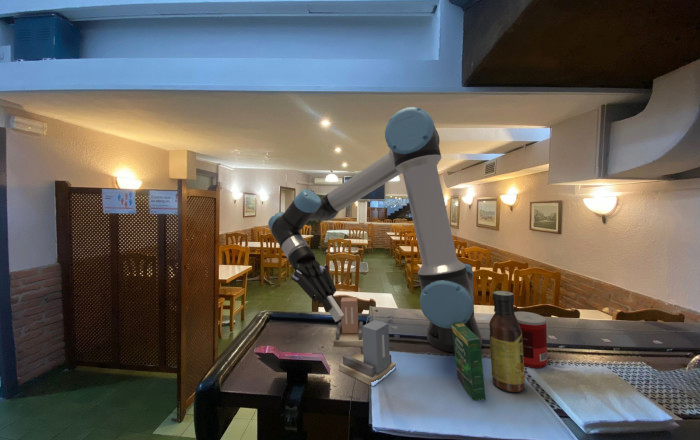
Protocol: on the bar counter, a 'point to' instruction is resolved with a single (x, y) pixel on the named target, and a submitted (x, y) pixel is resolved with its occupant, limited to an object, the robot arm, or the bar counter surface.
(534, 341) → the canned food
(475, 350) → the coffee box
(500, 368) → the sauce bottle
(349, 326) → the pinkish brown tall block
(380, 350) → the slate key
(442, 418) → the bar counter surface
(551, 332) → the bar counter surface
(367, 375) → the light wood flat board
